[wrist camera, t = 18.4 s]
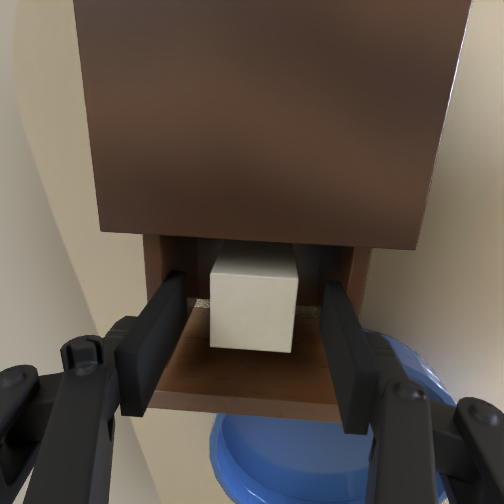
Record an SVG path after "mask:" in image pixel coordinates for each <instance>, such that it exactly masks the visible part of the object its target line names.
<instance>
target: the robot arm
mask: <svg viewBox="0 0 504 504" xmlns="http://www.w3.org/2000/svg"><path fill="white" fill-rule="evenodd" d="M186 320H187V283H186V271H175V270H172V271H171V272H170V273H169V275H168V276H167V278H166V279H165V280H164V282H163V283H162V284H161V285H160V287H159V288H158V290H157V291H156V292H155V294H154V295H153V297H152V298H151V299H150V301H149V302H148V304H147V305H146V306H145V308H144V309H143V310H142V312H141V313H140V315H139V316H138V317H136V316H125V317H123V318H122V319H120V320H119V321H117V322H116V323H115V324H114V325H113V326H112V328H111V329H110V331H108V333H107V334H106V335H105V337H104V338H101V337H100V336H96V335H85V336H81V337H77V338H74V339H72V340H69V341H68V342H67V343H65V344H64V345H63V346H62V348H61V349H60V352H61V357H62V363H63V368H64V372H61V373H56V374H49V375H42V376H38V372H37V369H36V368H35V367H34V366H32V365H18V366H14V367H11V368H7V369H5V370H3V371H1V372H0V504H12V503H13V501H14V500H15V498H16V496H17V495H18V493H19V491H20V489H21V488H22V486H23V484H24V482H25V481H26V479H27V477H28V476H29V474H30V472H31V470H32V469H33V467H34V469H33V472H32V475H31V479H30V482H29V485H28V488H27V491H26V495H25V498H24V501H23V504H108V502H109V488H110V478H111V467H112V454H113V443H114V432H115V418H114V413H115V411H116V409H117V408H118V406H119V404H120V408H121V415H122V416H133V417H143V415H144V413H145V411H146V409H147V406H148V404H149V402H150V400H151V398H152V395H153V393H154V391H155V389H156V387H157V384H158V382H159V380H160V378H161V375H162V373H163V371H164V369H165V367H166V364H167V362H168V360H169V358H170V356H171V353H172V351H173V349H174V347H175V344H176V342H177V340H178V338H179V336H180V333H181V331H182V329H183V327H184V325H185V322H186ZM319 329H320V333H321V337H322V341H323V346H324V350H325V354H326V358H327V362H328V367H329V371H330V375H331V379H332V383H333V388H334V392H335V396H336V400H337V404H338V409H339V413H340V417H341V421H342V425H343V430H344V434H355V435H367V432H368V428H369V423H370V425H371V428H372V431H373V434H374V436H373V440H372V445H371V449H370V454H369V458H368V461H369V471H368V479H367V487H366V496H365V504H438V494H437V482H436V471H438V473H439V476H440V478H441V481H442V484H443V487H444V489H445V492H446V495H447V498H448V501H449V503H450V504H504V414H503V413H502V412H501V410H499V409H498V408H496V407H495V406H494V405H492V404H490V403H488V402H486V401H484V400H481V399H477V398H473V397H464V398H462V399H460V400H459V402H458V404H457V407H455V406H452V405H448V404H445V403H442V402H438V401H436V400H433V399H431V398H429V395H428V393H427V391H426V390H425V389H424V388H423V387H422V386H420V385H419V384H418V383H416V382H414V381H412V380H409V378H408V376H407V374H406V373H405V371H404V369H403V367H402V365H401V364H400V362H399V360H398V358H397V357H396V354H395V353H394V351H393V350H392V347H391V345H390V344H389V342H388V340H387V339H386V338H385V337H383V336H382V335H381V334H380V333H379V332H366V331H363V329H362V327H361V325H360V323H359V321H358V318H357V316H356V314H355V312H354V310H353V307H352V305H351V303H350V301H349V298H348V296H347V294H346V293H345V290H344V288H343V286H342V284H341V281H332V280H325V286H324V294H323V301H322V309H321V316H320V324H319ZM34 465H35V466H34Z"/></svg>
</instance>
